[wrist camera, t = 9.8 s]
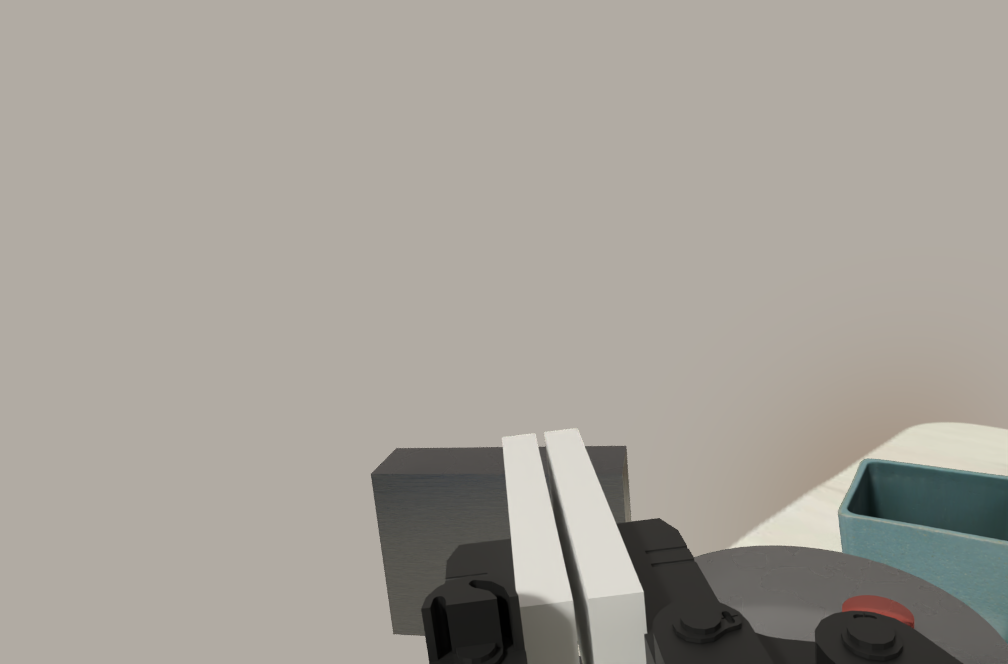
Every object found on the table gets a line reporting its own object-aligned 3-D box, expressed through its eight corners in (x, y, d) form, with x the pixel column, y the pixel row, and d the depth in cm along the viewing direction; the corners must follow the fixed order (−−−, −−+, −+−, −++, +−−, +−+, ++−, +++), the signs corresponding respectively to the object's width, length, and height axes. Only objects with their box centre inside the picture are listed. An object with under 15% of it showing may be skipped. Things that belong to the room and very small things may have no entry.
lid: (937, 569, 32) (941, 397, 31) (1120, 833, 19) (1144, 559, 18) (452, 555, 38) (434, 409, 36) (340, 754, 25) (305, 540, 23)
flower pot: (1027, 618, 42) (1034, 476, 40) (1031, 715, 35) (1040, 547, 33) (862, 583, 47) (862, 455, 45) (836, 660, 40) (835, 513, 38)
